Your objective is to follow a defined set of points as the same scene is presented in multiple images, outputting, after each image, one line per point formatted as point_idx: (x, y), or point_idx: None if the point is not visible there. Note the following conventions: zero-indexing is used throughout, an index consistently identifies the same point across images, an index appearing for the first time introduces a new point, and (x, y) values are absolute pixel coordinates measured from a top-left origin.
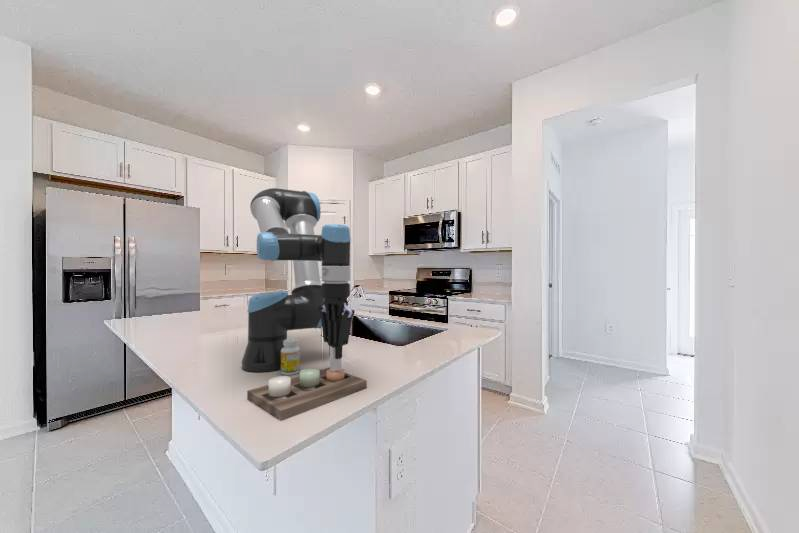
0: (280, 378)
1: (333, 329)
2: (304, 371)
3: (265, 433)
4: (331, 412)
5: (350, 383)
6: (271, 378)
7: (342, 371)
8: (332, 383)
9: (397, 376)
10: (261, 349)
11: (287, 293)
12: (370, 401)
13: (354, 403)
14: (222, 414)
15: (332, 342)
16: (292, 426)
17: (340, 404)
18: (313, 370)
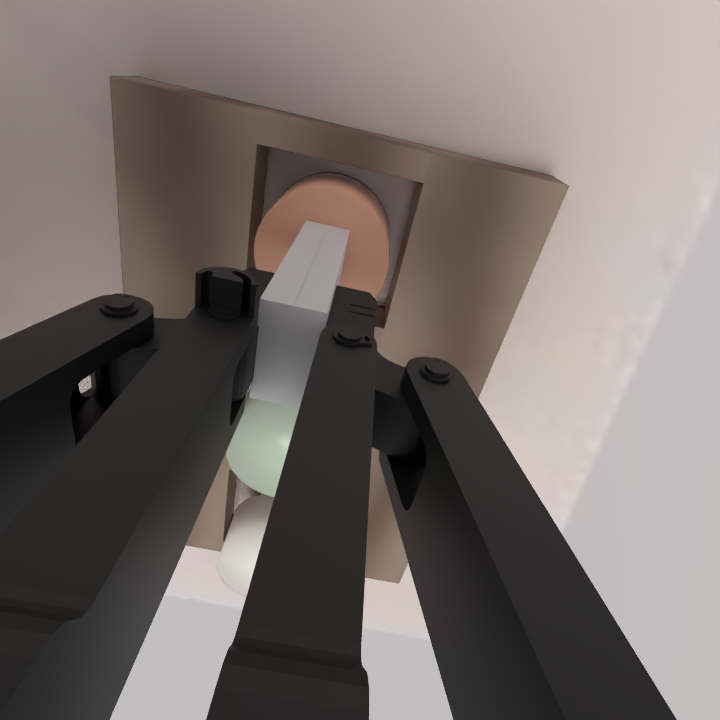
0: (253, 565)
1: (184, 507)
2: (260, 469)
3: (417, 600)
4: (521, 467)
5: (489, 290)
6: (219, 576)
7: (377, 247)
8: (387, 337)
9: None
10: None
11: None
12: (647, 325)
13: (575, 374)
14: (213, 584)
15: (243, 391)
16: None
17: (516, 407)
18: (289, 439)
